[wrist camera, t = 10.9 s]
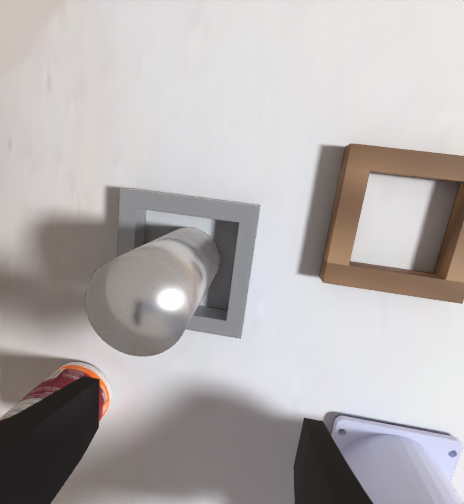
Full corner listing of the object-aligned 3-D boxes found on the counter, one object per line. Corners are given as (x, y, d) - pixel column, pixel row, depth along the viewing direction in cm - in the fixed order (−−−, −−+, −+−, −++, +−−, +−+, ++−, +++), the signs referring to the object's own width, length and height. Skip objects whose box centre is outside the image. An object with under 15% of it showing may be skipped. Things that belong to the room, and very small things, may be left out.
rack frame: (242, 327, 19) (240, 338, 18) (126, 307, 20) (115, 317, 19) (260, 205, 18) (259, 206, 16) (131, 188, 18) (119, 188, 17)
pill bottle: (116, 418, 22) (29, 552, 14) (57, 412, 23) (-60, 538, 15) (112, 361, 21) (15, 471, 13) (50, 356, 22) (-80, 459, 14)
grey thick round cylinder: (215, 293, 19) (182, 365, 11) (156, 282, 19) (83, 345, 12) (224, 232, 18) (194, 265, 10) (161, 222, 19) (86, 247, 11)
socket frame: (449, 295, 17) (462, 303, 16) (319, 276, 18) (323, 282, 17) (490, 162, 16) (508, 161, 15) (345, 146, 16) (351, 143, 15)
